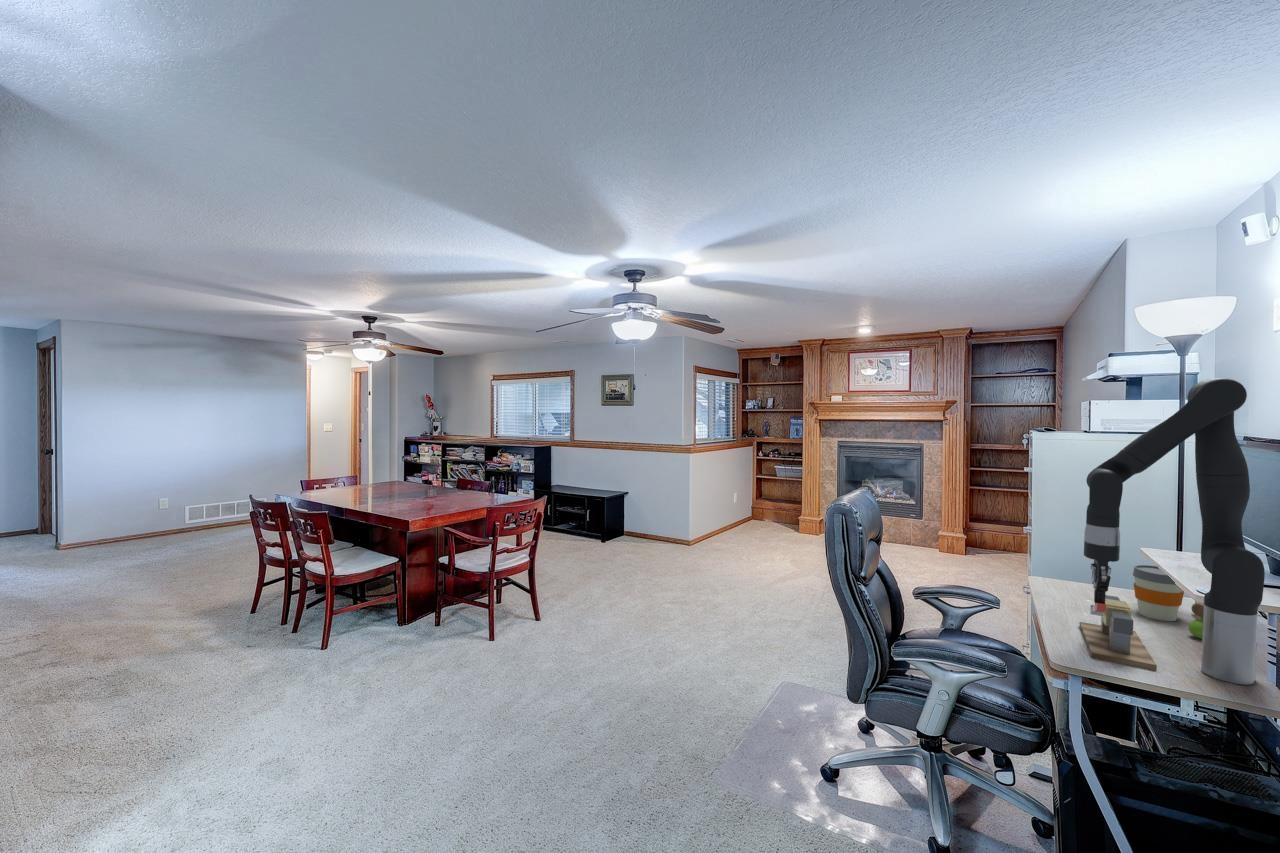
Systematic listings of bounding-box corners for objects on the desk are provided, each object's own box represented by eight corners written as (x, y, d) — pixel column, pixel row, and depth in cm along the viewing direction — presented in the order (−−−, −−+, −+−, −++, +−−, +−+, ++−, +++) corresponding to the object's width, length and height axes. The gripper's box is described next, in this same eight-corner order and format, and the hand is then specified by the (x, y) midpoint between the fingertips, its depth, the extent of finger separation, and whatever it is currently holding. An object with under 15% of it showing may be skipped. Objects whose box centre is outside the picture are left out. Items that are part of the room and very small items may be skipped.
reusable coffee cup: (1187, 626, 172) (1189, 578, 171) (1133, 616, 179) (1135, 571, 179) (1180, 614, 182) (1182, 569, 181) (1129, 606, 189) (1131, 562, 189)
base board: (1079, 626, 171) (1079, 621, 171) (1135, 636, 164) (1135, 631, 164) (1091, 658, 149) (1091, 652, 149) (1156, 670, 142) (1156, 665, 142)
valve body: (1096, 626, 167) (1098, 590, 167) (1119, 630, 164) (1120, 593, 164) (1109, 653, 149) (1110, 613, 148) (1135, 658, 146) (1136, 617, 145)
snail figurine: (1210, 644, 158) (1212, 603, 158) (1183, 635, 164) (1185, 596, 164) (1223, 642, 160) (1225, 601, 159) (1195, 633, 166) (1197, 594, 166)
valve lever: (1089, 605, 160) (1096, 601, 150) (1101, 607, 159) (1109, 603, 148) (1089, 614, 160) (1097, 610, 149) (1101, 616, 158) (1109, 613, 148)
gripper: (1124, 548, 144) (1121, 614, 145) (1115, 538, 155) (1112, 599, 156) (1087, 544, 148) (1085, 608, 149) (1081, 535, 159) (1079, 594, 160)
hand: (1099, 603), depth 152 cm, fingers closed
